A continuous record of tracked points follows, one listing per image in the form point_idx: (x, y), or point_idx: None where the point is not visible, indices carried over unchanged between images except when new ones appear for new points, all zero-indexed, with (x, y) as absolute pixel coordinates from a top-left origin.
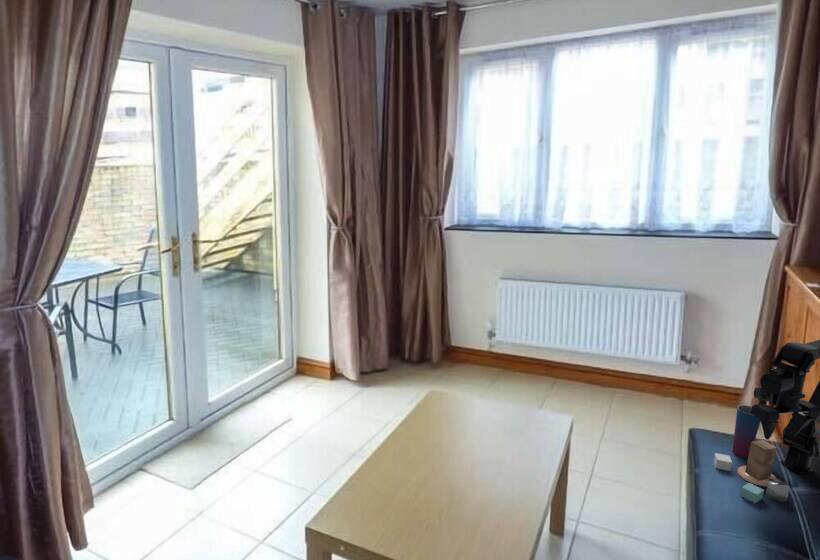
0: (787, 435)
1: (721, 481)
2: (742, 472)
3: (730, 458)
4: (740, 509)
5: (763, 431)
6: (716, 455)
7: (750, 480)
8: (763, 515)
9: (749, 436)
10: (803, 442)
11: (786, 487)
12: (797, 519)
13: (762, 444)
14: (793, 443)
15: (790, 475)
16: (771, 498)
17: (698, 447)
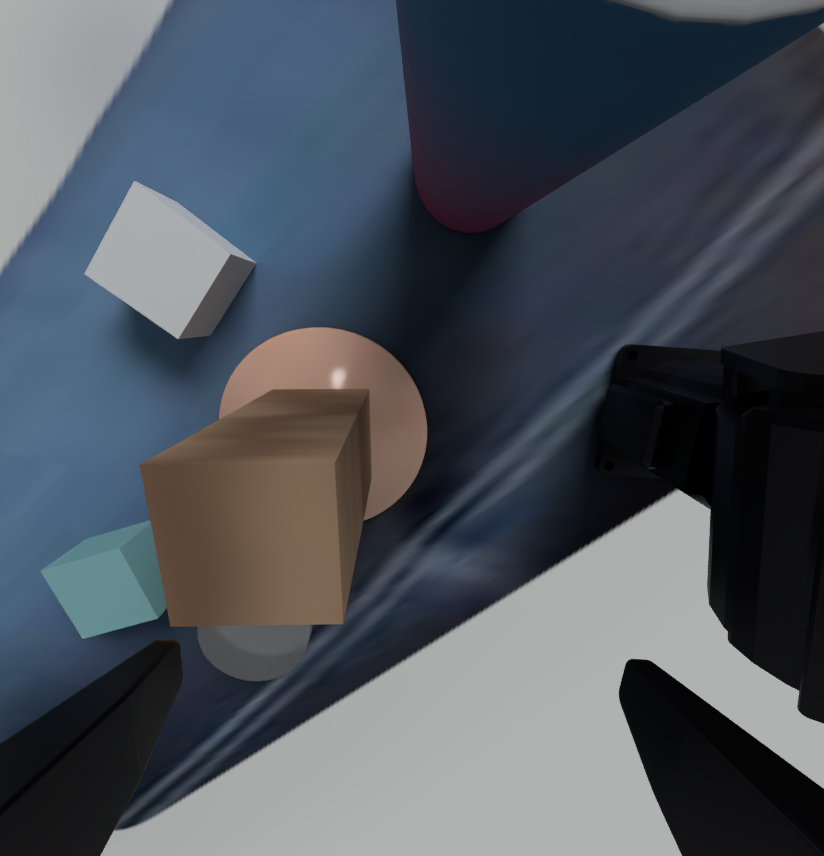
0: (745, 462)
1: (69, 411)
2: (252, 387)
3: (207, 289)
4: (11, 614)
5: (36, 727)
6: (121, 218)
7: None
8: (95, 665)
9: (464, 180)
10: (737, 621)
11: (264, 671)
12: (231, 711)
13: (232, 543)
14: (712, 489)
15: (538, 466)
16: None
17: None
